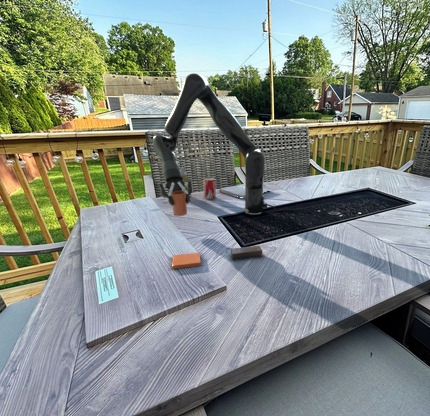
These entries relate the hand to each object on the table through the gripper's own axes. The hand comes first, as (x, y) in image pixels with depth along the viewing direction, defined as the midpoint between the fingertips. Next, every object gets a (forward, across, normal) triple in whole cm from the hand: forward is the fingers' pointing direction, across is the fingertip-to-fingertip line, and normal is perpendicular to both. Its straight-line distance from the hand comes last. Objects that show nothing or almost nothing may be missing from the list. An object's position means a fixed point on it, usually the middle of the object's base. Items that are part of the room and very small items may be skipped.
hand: (180, 203), depth 116 cm
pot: (+3, 0, +5) cm, 6 cm away
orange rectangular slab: (+30, -6, -15) cm, 34 cm away
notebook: (-20, +52, +36) cm, 66 cm away
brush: (+34, +14, -19) cm, 42 cm away
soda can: (-17, +26, +33) cm, 45 cm away
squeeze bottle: (-24, +13, +40) cm, 48 cm away
